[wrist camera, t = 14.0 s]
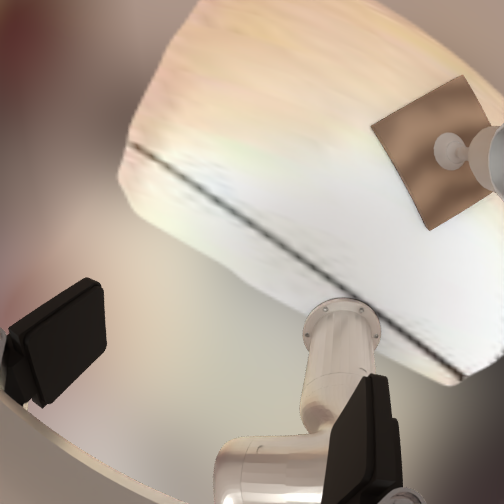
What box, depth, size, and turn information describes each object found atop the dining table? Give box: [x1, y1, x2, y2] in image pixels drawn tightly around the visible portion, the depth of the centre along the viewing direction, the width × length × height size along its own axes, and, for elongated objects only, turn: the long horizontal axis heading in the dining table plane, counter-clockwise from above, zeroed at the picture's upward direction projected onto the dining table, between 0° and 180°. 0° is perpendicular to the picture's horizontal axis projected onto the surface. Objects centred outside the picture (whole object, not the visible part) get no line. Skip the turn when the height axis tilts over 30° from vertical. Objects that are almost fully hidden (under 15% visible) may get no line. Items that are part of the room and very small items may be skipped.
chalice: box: [434, 123, 504, 202], centre depth 26 cm, size 7×7×18 cm
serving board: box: [371, 75, 492, 231], centre depth 35 cm, size 16×16×2 cm
